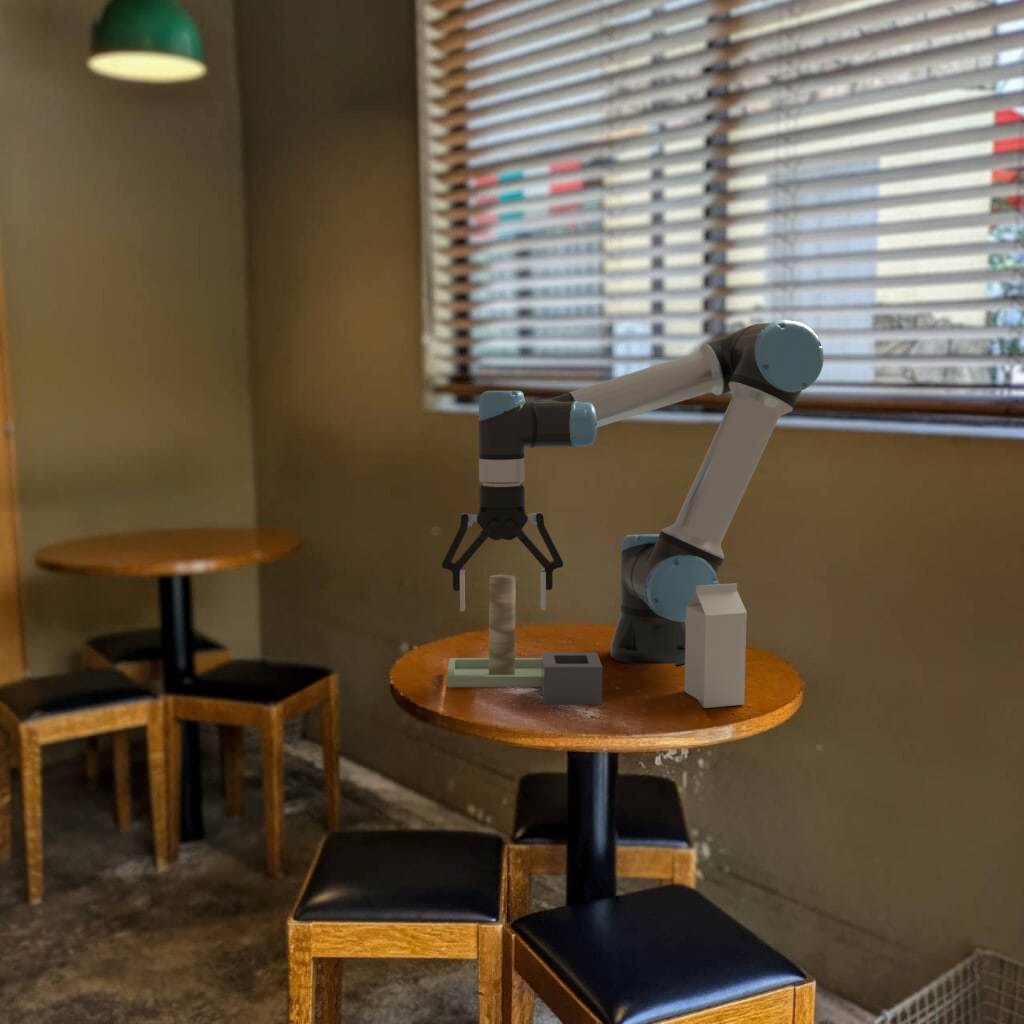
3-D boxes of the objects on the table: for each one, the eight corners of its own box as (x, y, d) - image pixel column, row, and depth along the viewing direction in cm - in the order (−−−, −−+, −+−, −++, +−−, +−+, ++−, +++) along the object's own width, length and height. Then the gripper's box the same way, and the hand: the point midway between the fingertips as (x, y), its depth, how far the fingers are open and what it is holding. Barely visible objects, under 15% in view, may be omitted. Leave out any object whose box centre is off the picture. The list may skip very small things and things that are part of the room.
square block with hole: (596, 694, 180) (596, 652, 179) (601, 710, 171) (602, 666, 170) (541, 694, 180) (541, 652, 179) (544, 710, 171) (544, 667, 170)
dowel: (514, 672, 189) (515, 574, 187) (514, 679, 185) (515, 579, 182) (488, 672, 189) (489, 574, 187) (488, 679, 184) (489, 579, 182)
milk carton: (744, 705, 174) (747, 587, 172) (703, 709, 172) (706, 590, 170) (723, 693, 181) (726, 579, 179) (683, 696, 179) (686, 581, 177)
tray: (552, 672, 193) (552, 657, 193) (556, 692, 181) (556, 676, 181) (449, 673, 193) (449, 658, 192) (446, 692, 181) (446, 676, 180)
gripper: (575, 481, 187) (575, 603, 189) (428, 482, 186) (430, 605, 189) (578, 485, 179) (578, 613, 182) (425, 486, 179) (427, 614, 181)
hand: (503, 609), depth 185 cm, fingers open, 13 cm apart
